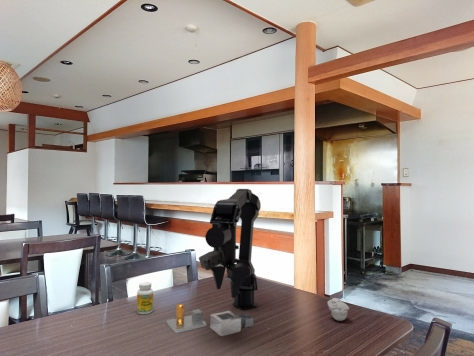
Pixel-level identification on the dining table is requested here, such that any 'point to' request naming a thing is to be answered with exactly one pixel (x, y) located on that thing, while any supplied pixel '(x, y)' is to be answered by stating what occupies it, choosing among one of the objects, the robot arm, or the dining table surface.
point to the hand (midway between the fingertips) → (225, 293)
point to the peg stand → (186, 320)
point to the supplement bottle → (145, 298)
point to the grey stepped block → (246, 320)
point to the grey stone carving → (338, 309)
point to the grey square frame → (225, 323)
